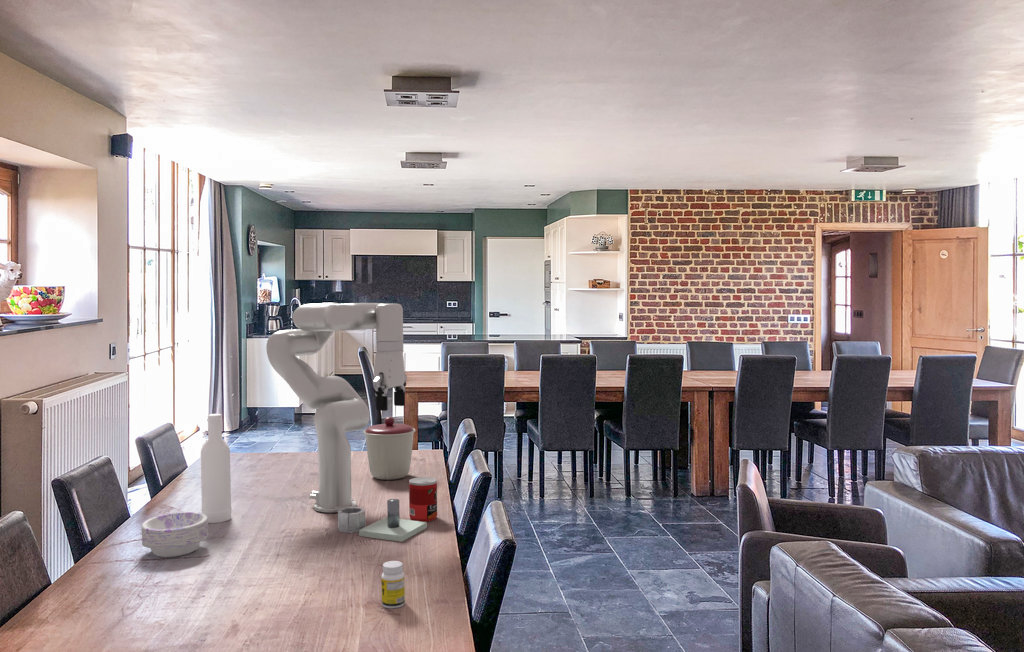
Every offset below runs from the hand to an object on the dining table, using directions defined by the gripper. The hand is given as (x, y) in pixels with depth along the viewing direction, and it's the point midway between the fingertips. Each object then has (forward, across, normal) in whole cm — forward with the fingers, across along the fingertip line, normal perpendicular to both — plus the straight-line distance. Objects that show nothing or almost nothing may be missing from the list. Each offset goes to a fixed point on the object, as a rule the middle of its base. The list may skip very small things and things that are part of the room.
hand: (390, 408), depth 217 cm
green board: (+32, +10, +6) cm, 34 cm away
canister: (+32, -46, -27) cm, 62 cm away
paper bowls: (+32, +42, -38) cm, 65 cm away
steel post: (+30, +10, +6) cm, 32 cm away
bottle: (+32, +17, -48) cm, 59 cm away
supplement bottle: (+32, +53, +30) cm, 69 cm away
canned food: (+32, -4, +8) cm, 33 cm away
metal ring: (+32, +12, -6) cm, 34 cm away
